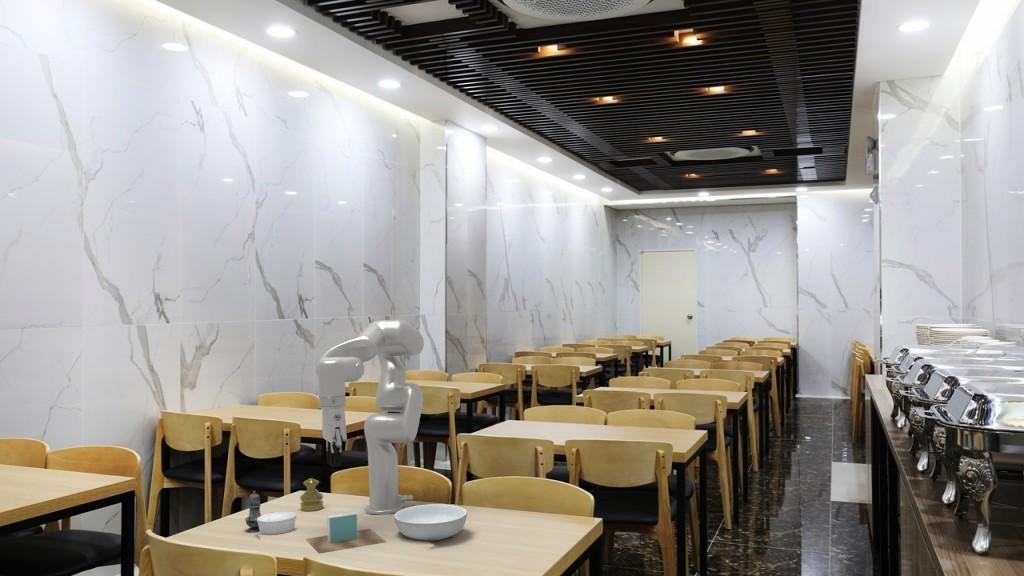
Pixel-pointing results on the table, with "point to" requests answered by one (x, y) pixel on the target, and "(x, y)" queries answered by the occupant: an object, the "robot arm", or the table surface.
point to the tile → (342, 527)
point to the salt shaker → (253, 513)
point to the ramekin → (276, 522)
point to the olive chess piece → (311, 496)
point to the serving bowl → (430, 521)
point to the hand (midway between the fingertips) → (334, 464)
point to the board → (363, 539)
